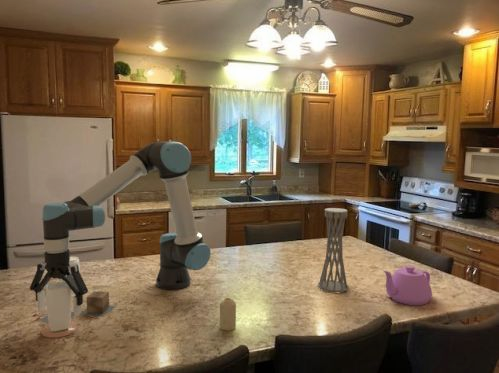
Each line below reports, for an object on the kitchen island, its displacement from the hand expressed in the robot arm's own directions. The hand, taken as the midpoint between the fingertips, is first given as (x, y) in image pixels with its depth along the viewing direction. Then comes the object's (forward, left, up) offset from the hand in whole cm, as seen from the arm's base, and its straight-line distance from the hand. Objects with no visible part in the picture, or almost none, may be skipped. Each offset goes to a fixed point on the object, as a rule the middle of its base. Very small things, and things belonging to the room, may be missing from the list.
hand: (59, 312), depth 138 cm
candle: (-54, -16, -6) cm, 57 cm away
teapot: (-119, -60, -6) cm, 133 cm away
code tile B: (-3, -18, -6) cm, 19 cm away
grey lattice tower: (-89, -66, -6) cm, 111 cm away
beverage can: (+24, -39, -6) cm, 46 cm away
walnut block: (-3, -18, -6) cm, 19 cm away
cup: (0, 0, -6) cm, 6 cm away
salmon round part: (0, 0, -6) cm, 6 cm away
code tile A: (+7, -9, -6) cm, 13 cm away
